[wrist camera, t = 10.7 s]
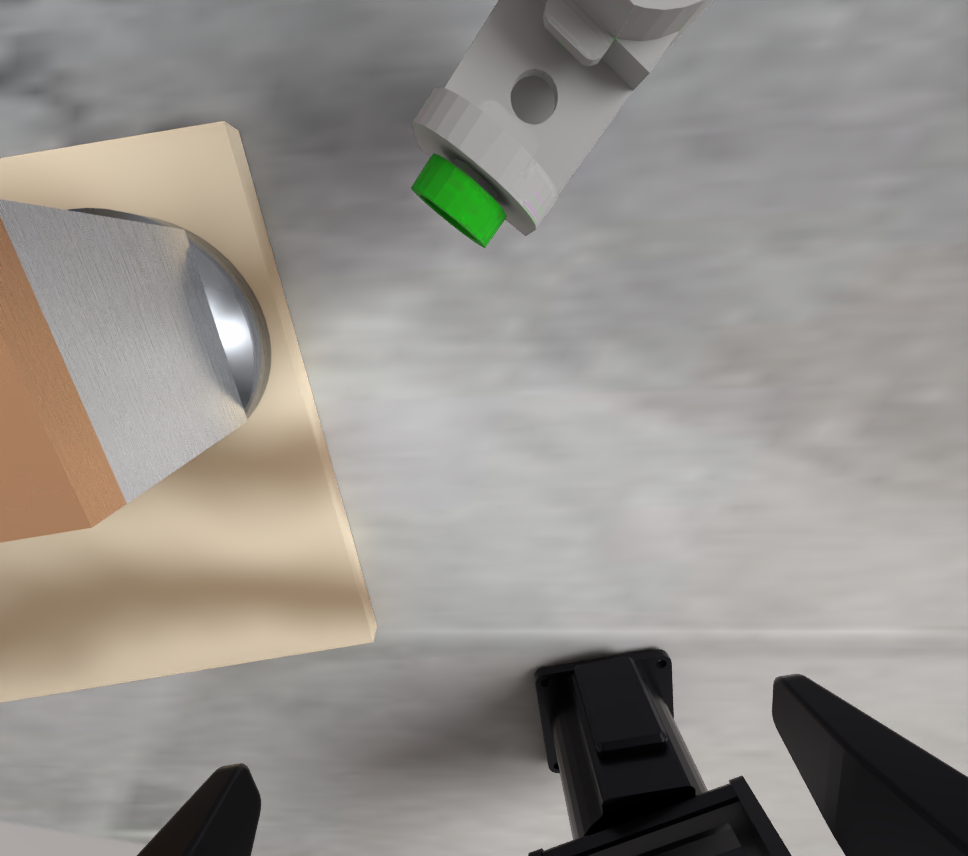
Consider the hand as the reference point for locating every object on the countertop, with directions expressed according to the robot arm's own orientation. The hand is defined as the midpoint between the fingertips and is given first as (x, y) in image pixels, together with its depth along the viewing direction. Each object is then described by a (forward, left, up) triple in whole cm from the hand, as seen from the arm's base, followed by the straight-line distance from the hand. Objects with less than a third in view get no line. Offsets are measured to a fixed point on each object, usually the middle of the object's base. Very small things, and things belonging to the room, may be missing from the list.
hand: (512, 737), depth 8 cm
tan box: (+7, +10, -10) cm, 16 cm away
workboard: (+3, +14, -12) cm, 19 cm away
